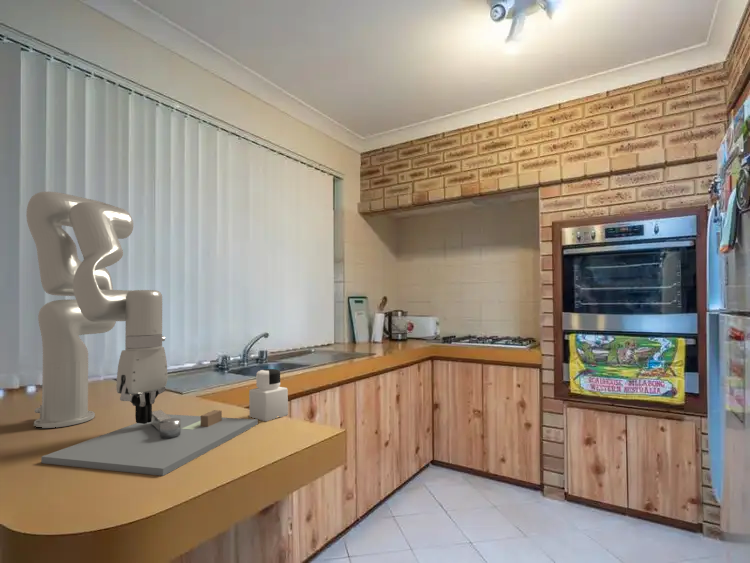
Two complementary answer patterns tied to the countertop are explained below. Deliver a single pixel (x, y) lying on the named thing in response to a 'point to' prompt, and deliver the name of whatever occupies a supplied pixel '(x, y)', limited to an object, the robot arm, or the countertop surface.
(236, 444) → the countertop surface
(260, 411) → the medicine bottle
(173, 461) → the latch plate
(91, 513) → the countertop surface
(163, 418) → the swing bar
